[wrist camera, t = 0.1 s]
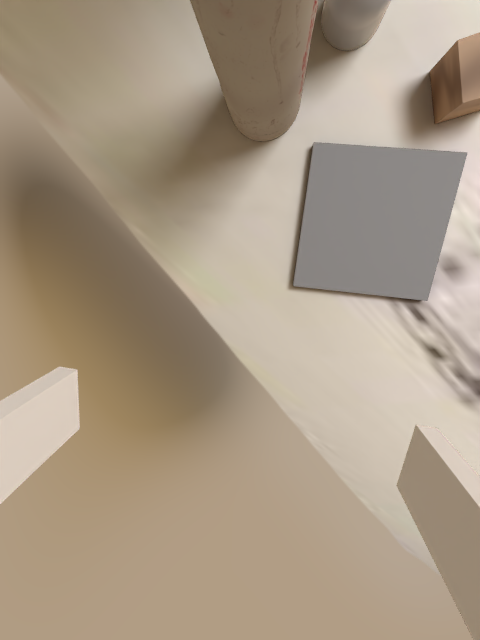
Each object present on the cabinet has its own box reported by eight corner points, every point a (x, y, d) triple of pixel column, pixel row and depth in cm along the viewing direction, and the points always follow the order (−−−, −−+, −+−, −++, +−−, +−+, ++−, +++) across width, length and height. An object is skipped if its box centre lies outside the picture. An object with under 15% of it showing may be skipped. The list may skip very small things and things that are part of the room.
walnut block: (429, 72, 30) (457, 40, 26) (482, 54, 30) (522, 17, 25) (434, 124, 32) (462, 103, 27) (485, 108, 31) (524, 83, 26)
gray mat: (312, 145, 33) (313, 142, 32) (461, 155, 32) (467, 152, 31) (292, 284, 37) (293, 286, 37) (423, 299, 36) (427, 300, 35)
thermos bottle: (305, 59, 31) (488, -1053, 4) (295, 143, 33) (378, -266, 7) (231, 57, 32) (3, -911, 5) (226, 139, 34) (44, -243, 7)
